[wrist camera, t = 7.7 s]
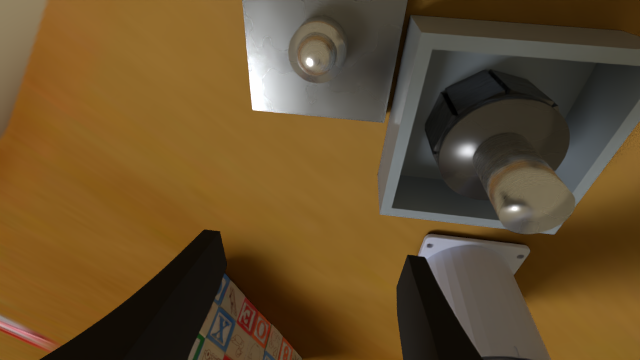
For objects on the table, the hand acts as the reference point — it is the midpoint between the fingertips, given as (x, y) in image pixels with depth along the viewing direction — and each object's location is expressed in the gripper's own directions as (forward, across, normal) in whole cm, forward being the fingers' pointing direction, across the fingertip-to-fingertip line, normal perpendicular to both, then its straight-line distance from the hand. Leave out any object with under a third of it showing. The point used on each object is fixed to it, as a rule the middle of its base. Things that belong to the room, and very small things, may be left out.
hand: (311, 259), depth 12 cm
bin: (+10, -8, -2) cm, 14 cm away
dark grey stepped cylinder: (+10, -8, -2) cm, 13 cm away
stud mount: (+10, +1, -6) cm, 12 cm away
